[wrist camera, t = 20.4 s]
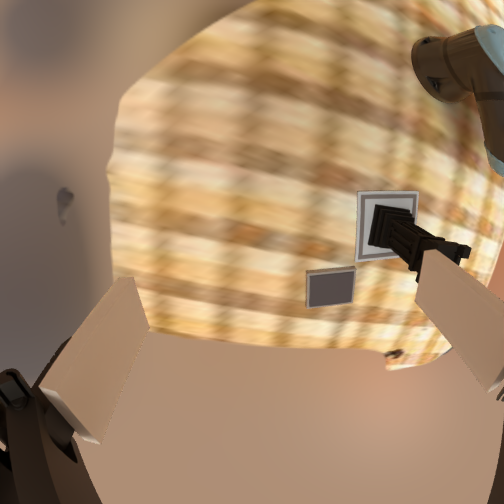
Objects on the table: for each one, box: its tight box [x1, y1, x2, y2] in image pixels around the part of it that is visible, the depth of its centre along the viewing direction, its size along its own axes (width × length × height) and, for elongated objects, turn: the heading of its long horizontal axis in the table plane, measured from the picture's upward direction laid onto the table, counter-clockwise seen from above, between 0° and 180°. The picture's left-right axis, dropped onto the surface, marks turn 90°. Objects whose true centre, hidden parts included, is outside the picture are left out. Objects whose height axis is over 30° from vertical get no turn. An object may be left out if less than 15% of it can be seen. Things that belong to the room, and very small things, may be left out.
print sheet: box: [355, 191, 419, 262], centre depth 48 cm, size 14×14×1 cm
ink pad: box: [306, 266, 356, 309], centre depth 53 cm, size 8×10×2 cm
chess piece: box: [368, 204, 471, 283], centre depth 39 cm, size 8×8×20 cm
